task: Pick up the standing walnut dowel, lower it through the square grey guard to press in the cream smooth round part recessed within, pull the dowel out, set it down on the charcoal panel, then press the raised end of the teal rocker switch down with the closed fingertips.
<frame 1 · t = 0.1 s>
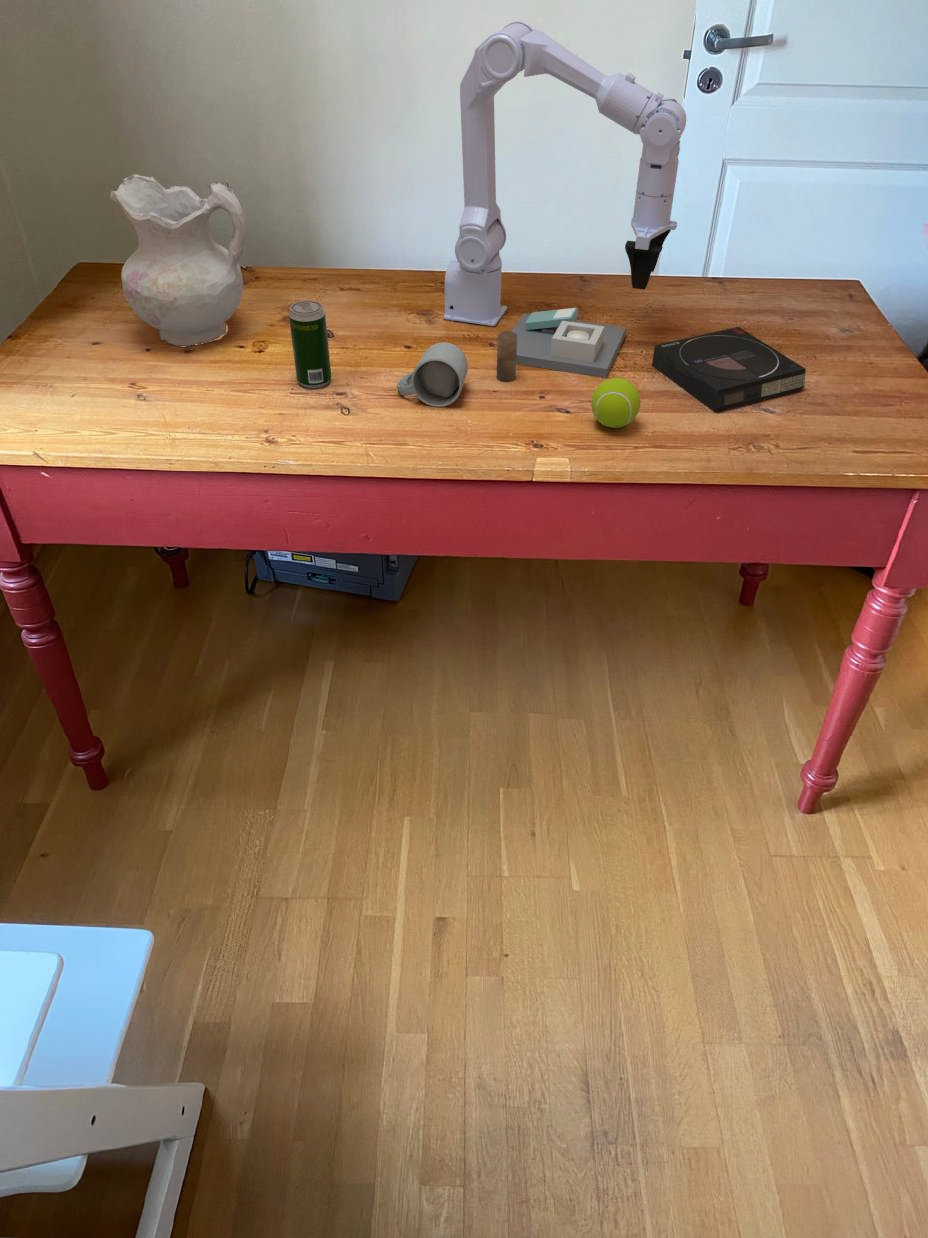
hand: (643, 279, 152), 10 cm above the table, tool pointing down, fingers open, 7 cm apart
tennis ball: (613, 425, 137), on the table
rocker: (551, 318, 157), point 3 cm above the table, hinge at -14.0°
cream smooth round part: (577, 339, 151), point 3 cm above the table, slide at 0.0 cm
dowel: (505, 377, 148), on the table
portable cd player: (724, 382, 148), on the table
panel: (562, 348, 156), on the table
ceramic mug: (432, 396, 144), on the table
beer can: (314, 382, 147), on the table
ceramic pitcher: (200, 333, 160), on the table
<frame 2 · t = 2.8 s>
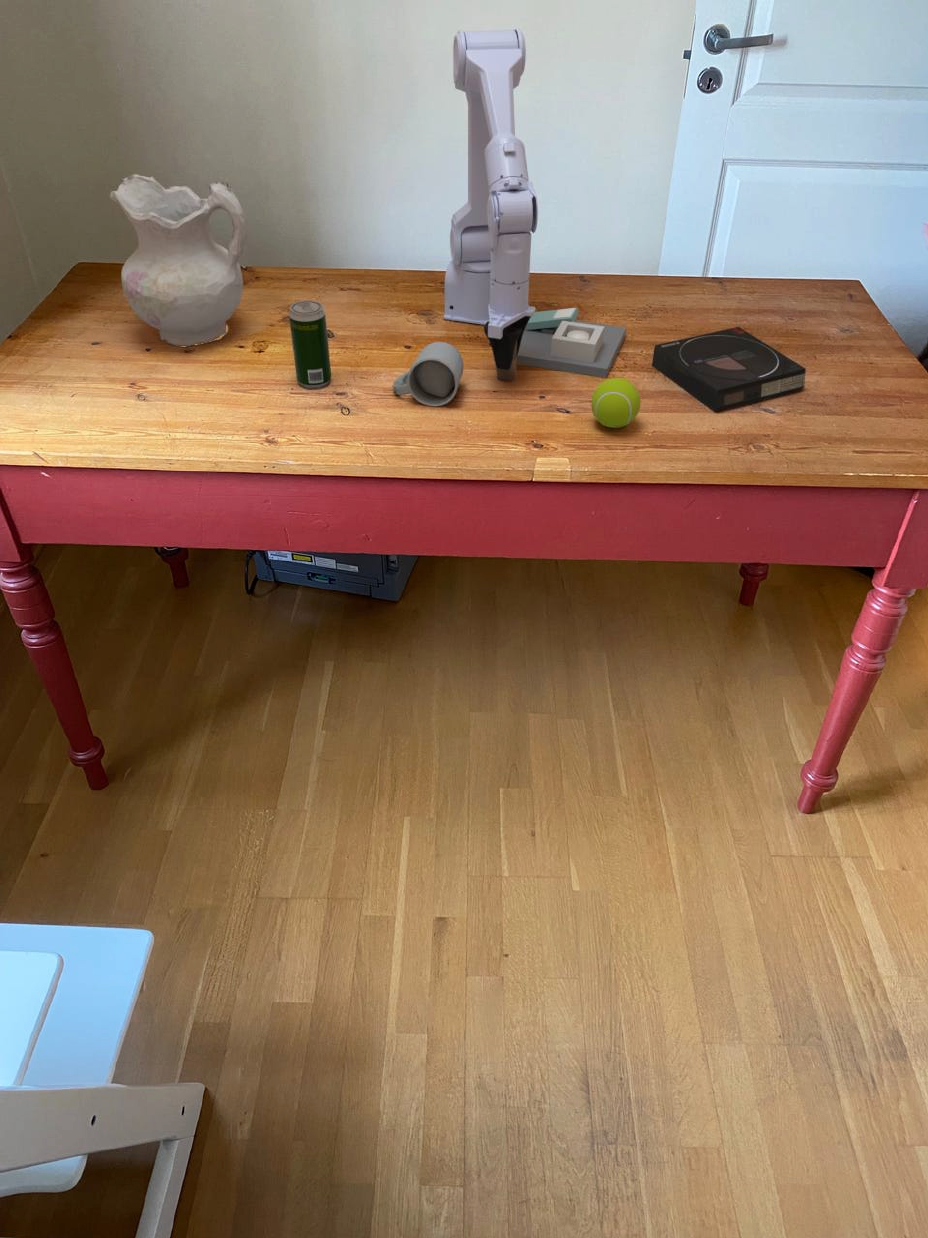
hand: (506, 363, 146), 2 cm above the table, tool pointing down, fingers closed on dowel, 3 cm apart
dowel: (505, 377, 148), on the table, touching gripper
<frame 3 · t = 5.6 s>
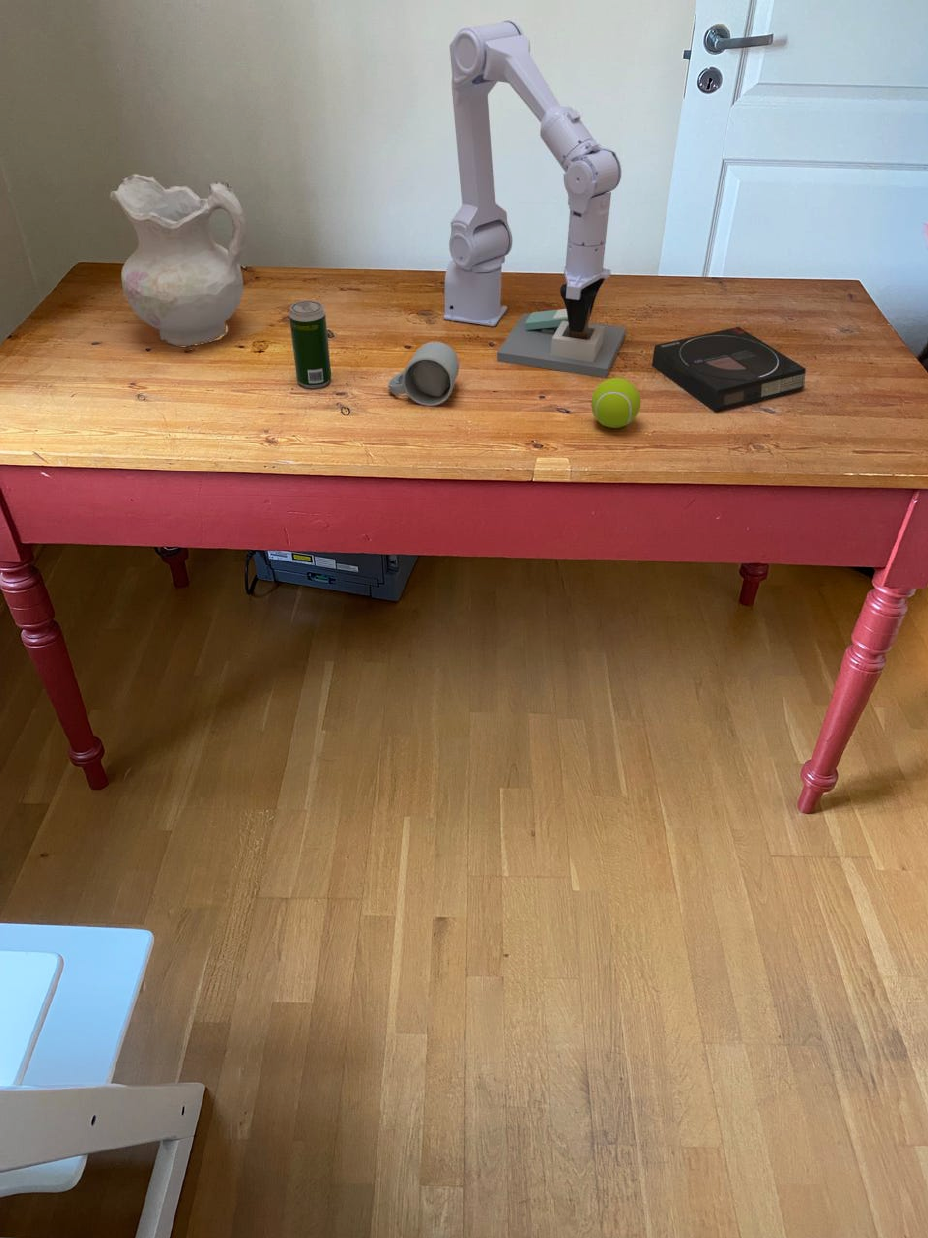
hand: (579, 326, 149), 6 cm above the table, tool pointing down, fingers closed on dowel, 3 cm apart
cream smooth round part: (577, 345, 151), point 2 cm above the table, slide at 1.0 cm, touching dowel
dowel: (577, 340, 151), point 3 cm above the table, touching gripper, cream smooth round part
when the fingers open (5 cm above the table, at t = 7.9 s): dowel drops 1 cm, resting on panel.
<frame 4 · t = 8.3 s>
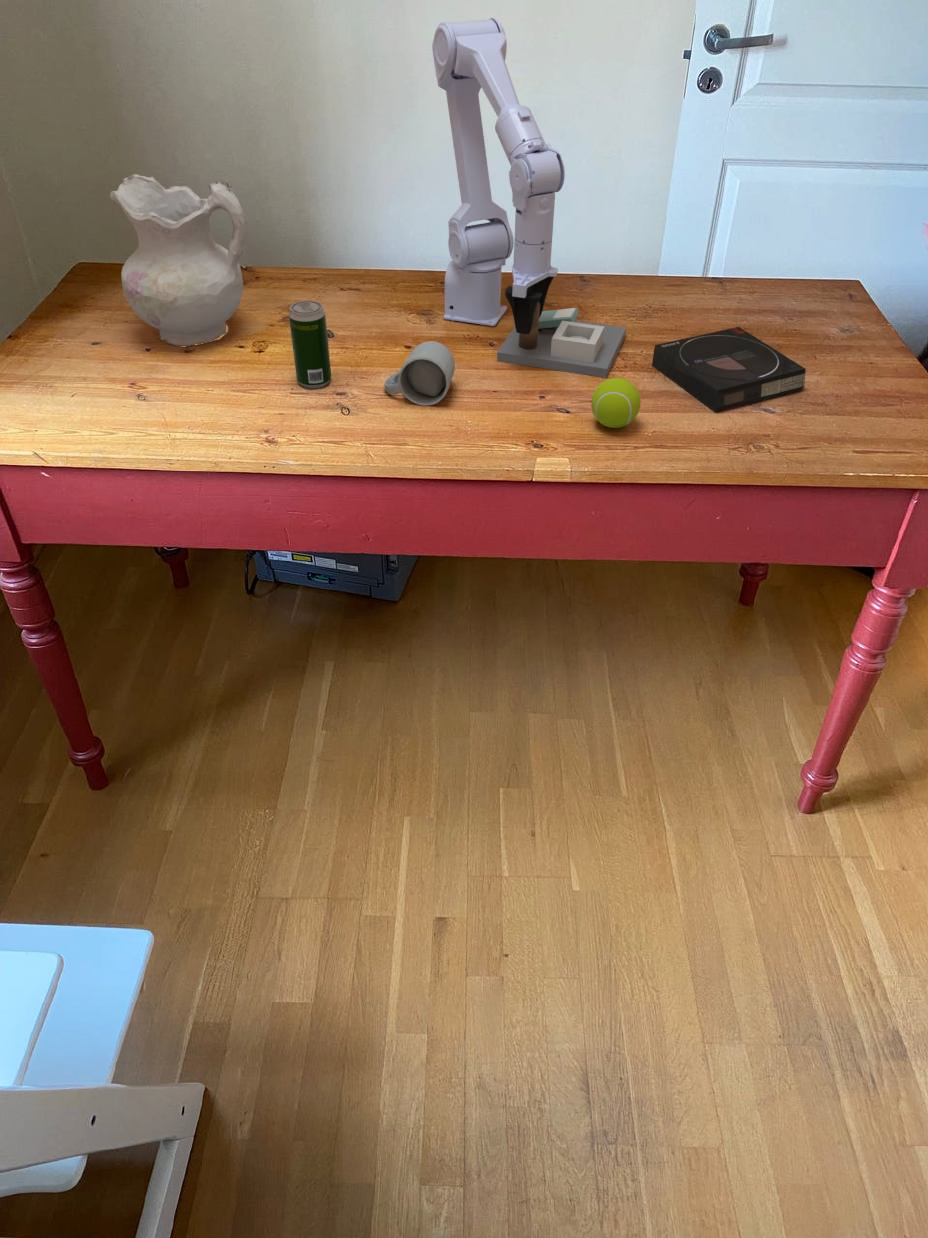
hand: (528, 324, 151), 5 cm above the table, tool pointing down, fingers open, 6 cm apart
cream smooth round part: (577, 345, 151), point 2 cm above the table, slide at 1.0 cm
dowel: (527, 345, 153), point 2 cm above the table, touching panel
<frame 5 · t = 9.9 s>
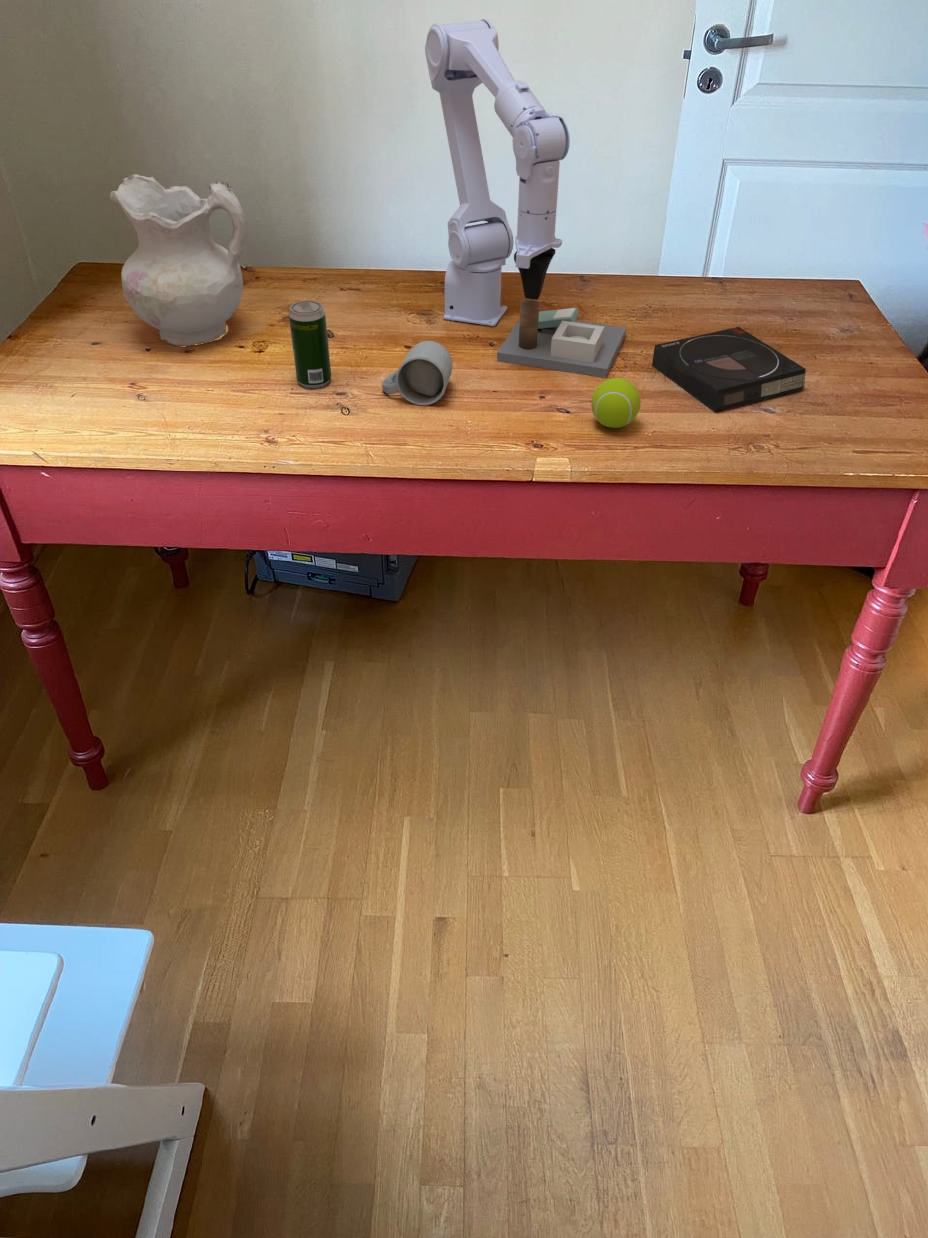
hand: (532, 297, 148), 9 cm above the table, tool pointing down, fingers closed
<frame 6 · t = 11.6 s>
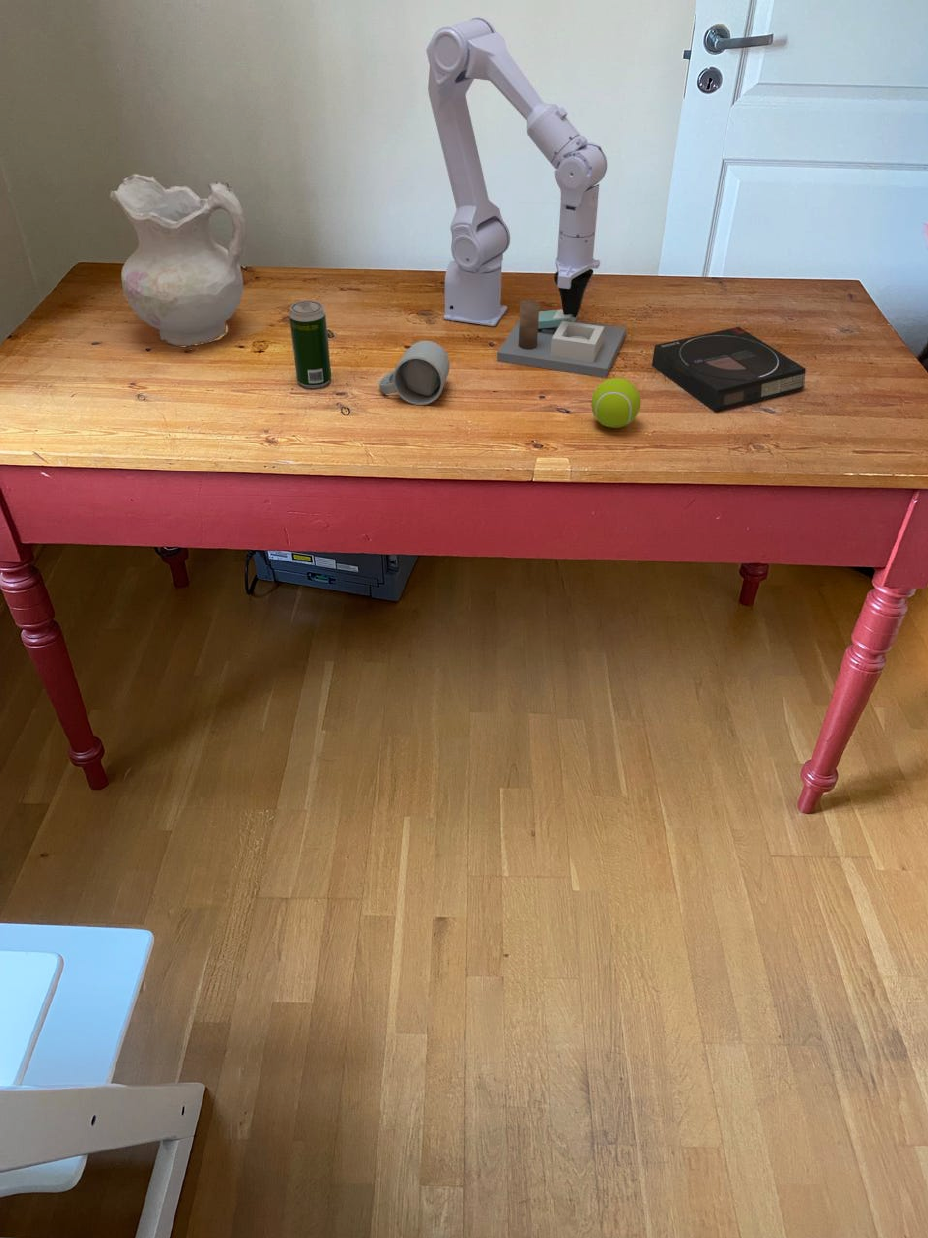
hand: (570, 315, 155), 4 cm above the table, tool pointing down, fingers closed, pressing on rocker
rocker: (551, 318, 157), point 3 cm above the table, hinge at -13.3°, touching gripper
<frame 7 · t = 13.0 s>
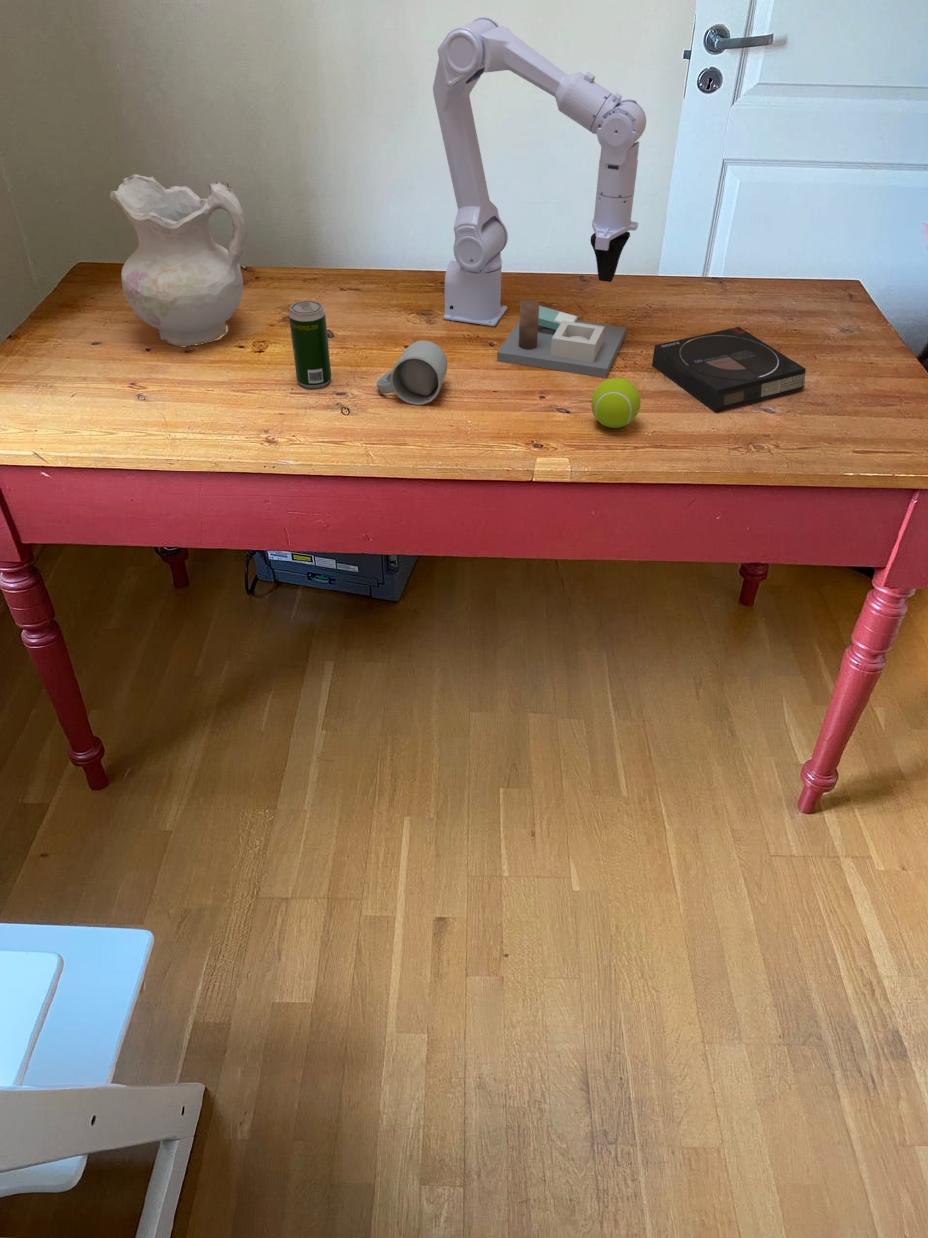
hand: (605, 279, 152), 10 cm above the table, tool pointing down, fingers closed
rocker: (551, 318, 157), point 3 cm above the table, hinge at 7.7°
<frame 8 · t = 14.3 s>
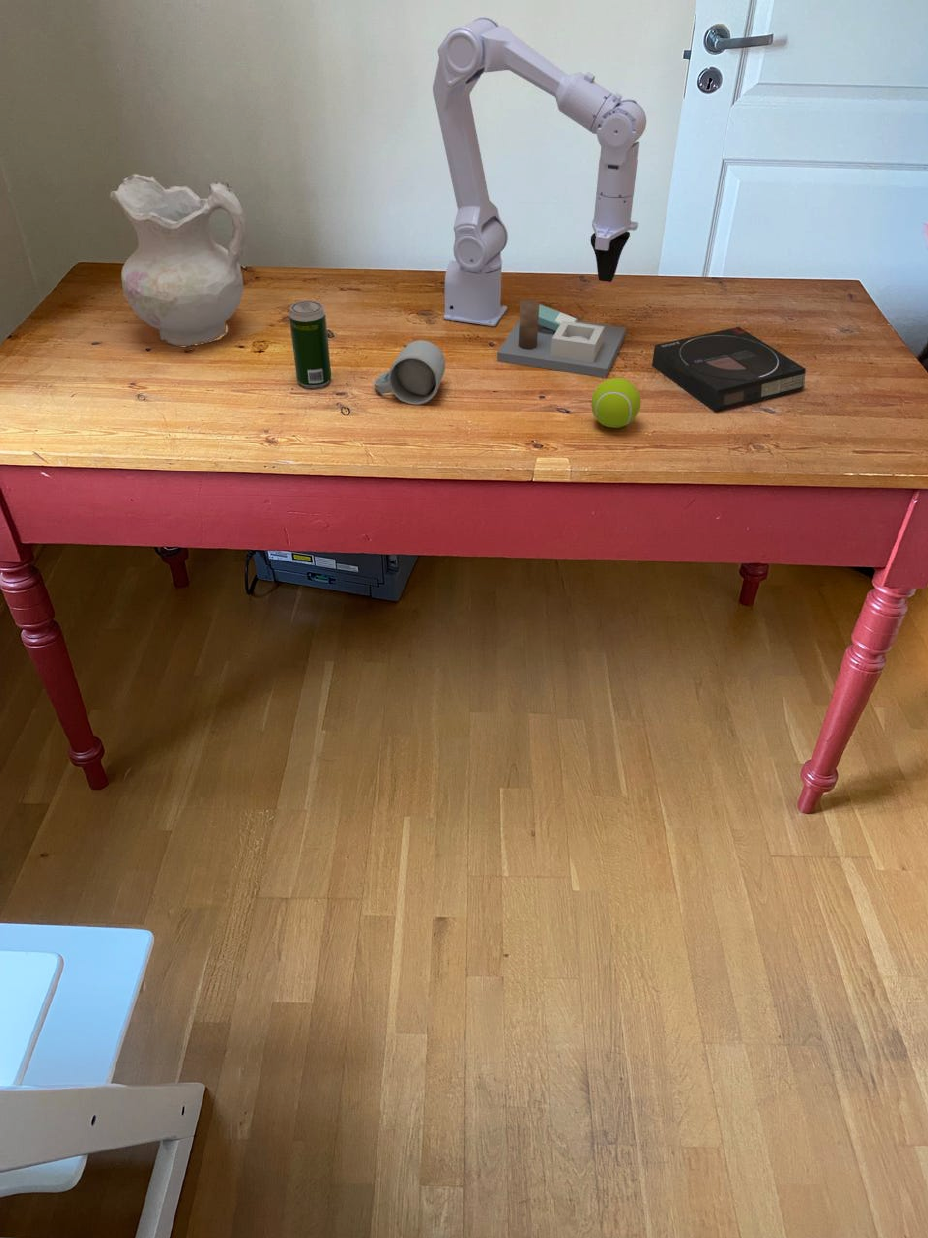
hand: (605, 279, 152), 10 cm above the table, tool pointing down, fingers closed
rocker: (551, 318, 157), point 3 cm above the table, hinge at 13.5°
at the end: cream smooth round part slide at 1.0 cm; rocker at +14° (first picture: -14°); the gripper is holding nothing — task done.
